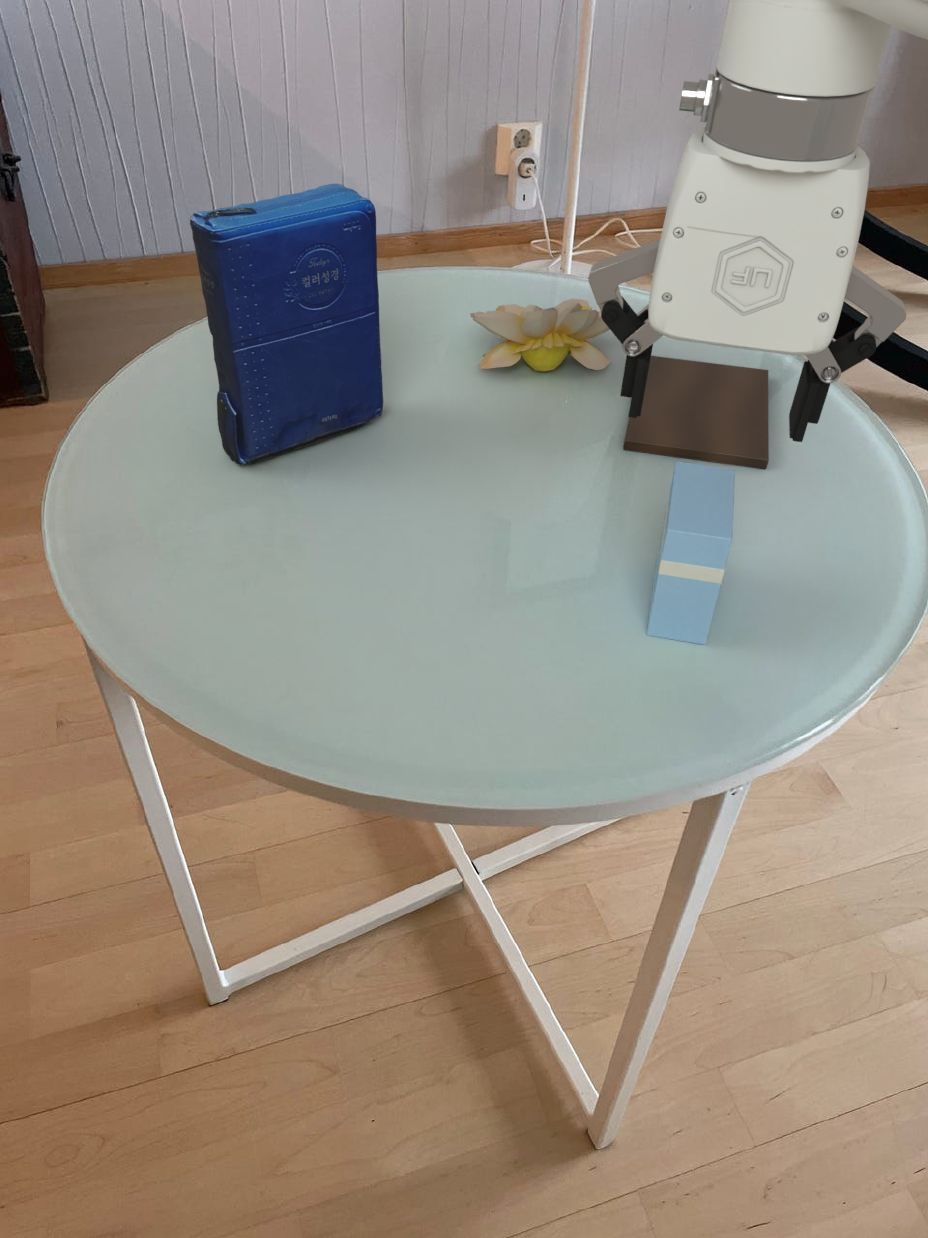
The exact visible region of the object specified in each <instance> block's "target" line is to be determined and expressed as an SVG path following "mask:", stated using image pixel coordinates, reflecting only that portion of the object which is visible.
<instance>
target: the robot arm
mask: <svg viewBox="0 0 928 1238" xmlns="http://www.w3.org/2000/svg"><path fill="white" fill-rule="evenodd" d="M892 27H893V28H895V29H897V30H900V31H902V32H905V33H907V34H910V35H913V36H915V37H917V38H921V39H925V40H928V0H728V1H727V6H726V12H725V16H724V22H723V28H722V33H721V39H720V44H719V50H718V56H717V62H716V66H715V73H714V74H713V73H709V74H708V77H707V79H699V81H689V80H683V85H682V90H681V96H680V102H679V109H678V111H680V112H681V111H682V112H690V113H693V116H698V117H700V123H705V126H704V127H701V128H700V129H698V130H696V131H694V132H693V133H692V134H691V136H690V137H689V140H688V141H687V143H686V146H685V149H684V150H683V151H684V152H683V154H682V156H681V158H680V159H681V160H680V162H679V165H678V168H677V171H676V174H675V177H674V181H673V184H672V189H671V192H670V197H669V200H668V203H667V206H666V211H665V216H664V220H663V225H662V229H661V233H660V239H658V240H655V241H652V242H650V243H647V244H644V245H640V246H638V247H635V248H633V249H630V250H628V251H627V250H626V251H623V252H622V253H619V254H616V255H613V256H611V257H608V258H605V259H603V260H599V261H597V262H595V263H594V264H592V266H591V267H590V271H589V274H588V278H587V279H588V284H589V287H590V289H591V291H592V294H593V296H594V300H595V302H596V304H597V306H598V308H599V310H600V311H601V317H602V320H603V321H604V323H605V324H606V325H607V326H608V327H609V329H610V330H609V331H611V333H612V334H613V335H614V336H615V337H616V339H617V340H618V341H619V342H620V344H621V345H622V351H623V353H624V354H625V355H626V356H625V363H624V368H623V369H624V370H623V374H622V375H623V376H622V382H621V387H620V388H621V390H620V395H619V396H620V397H624V398H631V399H630V405H629V410H628V418H629V417H631V418H637V416H640V415H641V410H642V404H643V399H644V393H645V388H646V382H647V376H648V370H649V365H650V359H651V356H652V352H653V347H654V343H655V342H657V341H658V340H659V339H661V338H662V337H667V338H669V339H673V340H677V341H684V342H689V343H696V344H703V345H711V346H718V347H725V348H731V349H732V348H733V349H741V350H748V351H756V352H763V353H771V354H781V355H788V356H806V358H807V360H805V361H804V362H803V365H802V368H801V372H800V375H799V379H798V382H797V386H796V389H795V392H794V395H793V400H792V403H791V407H790V409H789V414H788V426H789V427H788V430H789V439H792V441H793V442H797V443H798V442H799V443H803V441H804V437H805V434H806V431H807V427H808V424H815V425H817V424H818V423H819V421H820V418H821V415H822V412H823V409H824V406H825V403H826V400H827V396H828V393H829V390H830V387H831V384H833V383H835V382H837V381H838V380H839V379H840V378H841V376H842V373H844V372H846V371H848V370H850V369H852V368H853V367H855V366H856V365H858V364H860V363H861V362H863V361H865V360H866V359H868V358H870V357H871V356H873V355H874V354H875V352H876V350H877V348H878V347H879V346H880V345H881V344H882V343H884V342H885V341H886V340H887V339H889V337H890V336H891V335H892V334H893V333H894V332H895V331H896V330H897V329H898V328H899V327H900V326H901V325H902V324H903V323H904V322H905V320H906V318H907V312H906V308H905V304H904V301H903V300H902V299H900V298H899V297H897V295H895V294H894V293H892V292H891V291H890V290H888V289H887V288H885V287H884V286H882V285H881V284H880V283H878V282H877V281H875V280H874V279H873V278H871V277H870V276H868V275H867V274H865V273H864V272H863V271H861V270H860V269H859V268H857V267H856V266H855V265H854V262H855V258H856V254H857V253H856V252H857V249H858V244H859V240H860V236H861V230H862V225H863V220H864V215H865V209H866V204H867V203H866V202H867V195H868V189H869V179H870V168H871V161H870V157H868V155H867V153H866V151H865V150H864V149H863V148H861V147H860V146H859V143H860V139H861V136H862V133H863V129H864V125H865V121H866V118H867V115H868V111H869V107H870V103H871V100H872V97H873V93H874V89H875V86H876V85H875V84H876V81H877V78H878V74H879V72H880V68H881V64H882V61H883V57H884V54H885V51H886V47H887V43H888V40H889V37H890V33H891V29H892ZM650 274H652V277H651V282H650V283H651V285H650V289H649V297H648V298H649V299H648V304H647V305H646V306H644V307H643V308H641V310H640V311H639V312H638V313H636V311H634V309H633V308H632V306H631V305H630V304H629V302H628V301H627V300H626V299H625V298H624V296H622V294H621V291H620V290H621V289H620V287H619V286H620V285H621V284H624V283H627V282H630V281H633V280H635V279H638V278H640V277H641V278H642V277H643V276H646V275H647V276H648V275H650ZM845 299H847V300H848V301H849V302H851V303H852V304H854V305H855V306H857V307H858V308H859V309H860V310H862V311H864V312H865V313H866V314H868V317H867V318H866V319H865V320H864V322H863V323H862V324H861V325H859V326H857V327H855V328H854V329H852V330H850V331H849V332H847V333H845V334H843V335H842V336H840V337H839V338H837V339H834V336H835V333H836V331H837V327H838V324H839V320H840V317H841V313H842V309H843V306H844V303H845Z"/></svg>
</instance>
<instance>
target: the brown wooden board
mask: <svg viewBox="0 0 928 1238" xmlns="http://www.w3.org/2000/svg"><path fill="white" fill-rule="evenodd" d="M769 425H770V424H769V369H763V368H756V367H755V368H754V367H746V366H740V365H731V364H722V363H714V362H706V361H698V360H691V359H682V358H673V357H664V356H659V355H658V356H657V355H651V359H650V365H649V370H648V376H647V382H646V388H645V393H644V399H643V404H642V410H641V415H640V416H637V418H631V417H628V421H627V426H626V431H625V435H624V442H623V450H624V451H630V452H638V453H644V454H645V453H646V454H652V455H659V456H667V457H674V458H682V459H689V460H695V461H696V460H697V461H703V462H710V463H718V464H723V465H724V464H726V465H732V466H739V467H745V468H754V469H762V470H767V467H768V464H769V460H770V459H769V457H770V454H769V451H770V450H769V448H770V446H769V443H770V442H769V441H770V439H769V438H770V437H769V435H770V434H769V433H770V432H769V428H770V427H769Z"/></svg>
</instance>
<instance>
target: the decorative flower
mask: <svg viewBox="0 0 928 1238" xmlns="http://www.w3.org/2000/svg"><path fill="white" fill-rule="evenodd" d="M469 315H470V317H471V318H472V320H473V321H474V322H475V323H476V324H478V325H480V326H481V327H483V328H484V329H485V330H487V331H489V332H491V333H492V334H494V335H496V336H497V337H500V338H502V339H505V341H502V342H501V343H499V344H497V345H495V346H494V347H492V348H490V349H489V350H487V352H485V353H484V354H482V359H481V360H480V361H479V363H478V367H479V369H481V370H482V369H484V370H485V369H495V368H505V367H506V368H507V367H512V366H514V365H515V364H517V363H518V362H519V361H520V360H521V358H522V359H523V360H524V362H525V363H526V364H527V365H528V366H529V367H530V368H532V369H533V370H534V371H536V372H543V373H546V372H549V371H554V370H555V369H557V368H558V367H559V366H560V365H561V364H562V363H563V362H564V361H565V359H566V357H567V356H568V355H570V356H572V357H573V358H574V360H576V361H577V362H578V363H579V364H581V365H582V366H584V367H586V369H590V370H594V371H600V370H604V369H605V368H606V367H608V365H609V364H611V359H610V358H609V357H608V356H607V355H606V354H605V353H604V352H602V350H601V349H600V348H598V347H596V346H595V345H593V344H592V343H590V342H589V341H588V340H590V339H593V338H596V337H599V336H600V335H602V334H605V333H606V332H608V331H611V330H610V329H609V327H608V326H607V325H606V324H605V323H604V321H603V320H602V317H601V311H598V310H597V309H594V307H593V306H591V305H590V306H589V300H587V299H581V298H580V299H579V298H570V299H566V300H563V301H562V302H560V303H559V304H557V305H556V306H554V307H553V306H552V307H549V308H542V307H540V306H538V305H534V304H528V305H527V306H525V307H523V306H522V305H521V306H520V305H518V304H514V303H513V304H511V303H510V304H501V305H498V306H497V307H496V309H495V310H489V311H488V310H487V311H485V312H483V311H476V312H472V313H469Z"/></svg>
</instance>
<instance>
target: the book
mask: <svg viewBox="0 0 928 1238" xmlns="http://www.w3.org/2000/svg"><path fill="white" fill-rule="evenodd" d="M189 221H190V222H189V225H190V228H191V232H192V233H191V234H192V241H193V245H194V250H195V255H196V260H197V266H198V272H199V276H200V283H201V291H202V295H203V299H204V303H205V310H206V316H207V325H208V328H209V333H210V334H211V337H212V349H213V359H214V364H215V368H216V372H217V381H218V392H217V393H216V394H217V395H216V413H217V426H218V432H219V434H220V438H221V446H222V449H223V451H224V453H225V454H226V455H227V456H228V457H229V459H230V461H231V462H233V463H235V464H236V465H239V466H243V465H251V464H255V463H259V462H262V461H265V460H268V459H271V458H273V457H277V456H280V455H283V454H284V455H285V454H286V453H290V452H293V451H296V450H299V449H303V448H306V447H311V446H313V445H316V444H318V443H320V442H321V443H322V442H323V441H325V440H328V439H331V438H333V437H336V436H339V435H342V434H344V433H348V432H351V431H354V430H356V429H358V428H361V427H363V426H364V425H366V424H367V423H369V422H371V421H372V420H375V419H377V418H380V417H382V413H383V408H384V392H383V389H384V388H383V373H382V351H381V349H382V348H381V331H380V330H381V329H380V327H381V326H380V325H381V324H380V301H379V298H380V297H379V293H380V292H379V282H378V281H379V279H378V246H377V245H378V244H377V213H376V208H375V205H374V203H373V202H372V201H371V199H369V198H368V197H363V196H362V195H360V194H359V192H358V191H357V190H354V189H353V188H349V187H347V186H345V185H344V184H341V183H329V184H323V185H319V186H318V187H315V188H311V189H306V190H304V191H301V192H296V193H289V194H283V195H280V196H276V197H273V198H267V199H260V200H257V201H254V202H250V203H249V202H248V203H240V204H237V205H234V206H233V205H232V206H227V207H220V208H216V209H212V210H200V211H195V212H193V213H192V214H191V215H190V218H189Z"/></svg>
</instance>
